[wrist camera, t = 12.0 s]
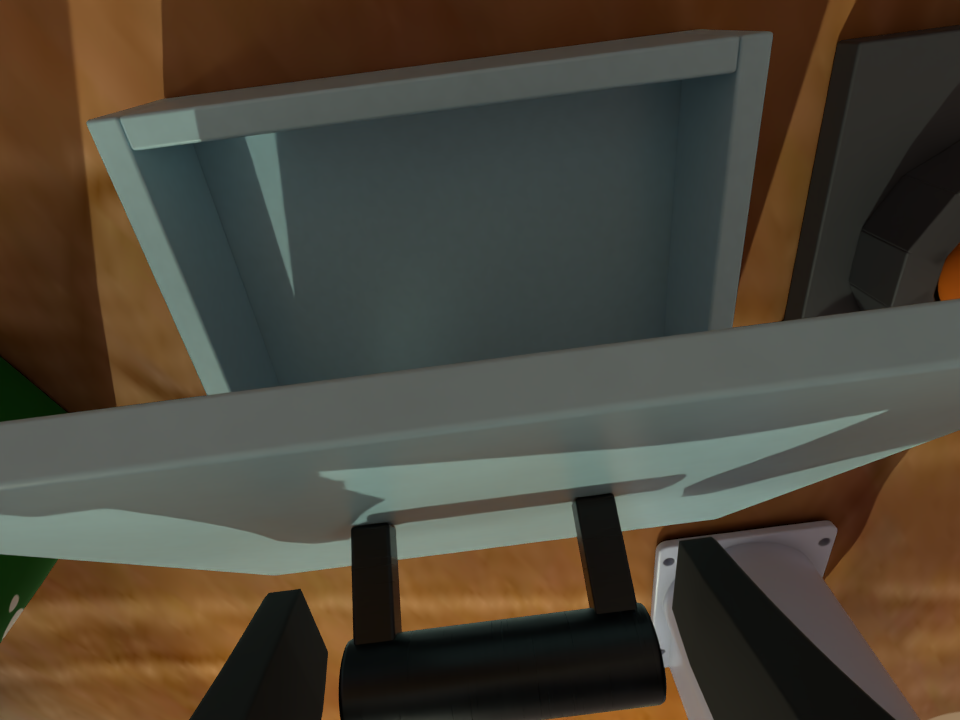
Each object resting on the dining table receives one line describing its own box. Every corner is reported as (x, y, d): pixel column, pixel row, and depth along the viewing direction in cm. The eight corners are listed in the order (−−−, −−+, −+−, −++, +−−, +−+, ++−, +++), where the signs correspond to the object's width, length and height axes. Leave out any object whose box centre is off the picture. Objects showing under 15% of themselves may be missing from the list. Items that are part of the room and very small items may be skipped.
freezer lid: (-291, 456, 5) (-535, 1025, 4) (1189, 265, 5) (1547, 762, 4) (273, 553, 18) (270, 693, 17) (711, 497, 18) (748, 632, 17)
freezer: (162, 98, 15) (83, 120, 12) (699, 28, 15) (775, 30, 12) (301, 473, 22) (276, 554, 19) (667, 426, 22) (709, 499, 18)
